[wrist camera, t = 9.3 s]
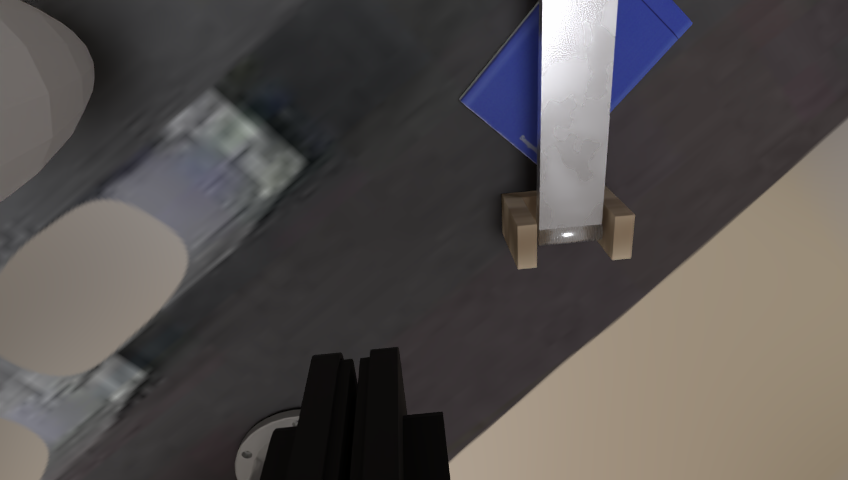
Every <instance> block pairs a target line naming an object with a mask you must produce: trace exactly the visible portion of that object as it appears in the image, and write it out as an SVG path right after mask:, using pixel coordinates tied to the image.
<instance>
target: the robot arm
mask: <svg viewBox="0 0 848 480" xmlns="http://www.w3.org/2000/svg"><path fill="white" fill-rule="evenodd" d="M235 475H236V478H237V480H450V473H449V464H448V455H447V446H446V437H445V428H444V419H443V412H434V413H424V414H414V415H407V409H406V401H405V393H404V386H403V378H402V370H401V362H400V354H399V348H398V347H393V348H382V349H372V350H371V351H370V357H367V358H361V359H360V366H359V378H358V384H357V378H356V372H355V367H354V362H353V359H347V360H344V359H343V355H342V353H332V354H321V355H314V356H312V359H311V364H310V368H309V373H308V378H307V382H306V387H305V392H304V396H303V401H302V406H301V409H299V410H291V411H286V412H281V413H278V414H276V415H273V416H270V417H268V418H266V419H264V420H263V421H261V422H259V423H258V424H256V425H255V426H254V427H253V428H252V429H251V430H250V431H249V432H248V433H247V434H246V436H245V437H244V439H243V440H242V441H241V444H240V447H239V449H238V452H237V456H236V460H235Z"/></svg>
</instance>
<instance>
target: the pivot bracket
mask: <svg viewBox="0 0 848 480" xmlns="http://www.w3.org/2000/svg"><path fill="white" fill-rule="evenodd" d="M501 197H502V233H503V236H504V238H505V240H506V243H507V245H508V247H509V250H510V252H511V254H512V257H513V259H514V261H515V264H516V266H517V268H518V269H526V268H537V223H536V204H537V191H527V192H517V193H506V194H501ZM634 220H635V214H634V213H633V212H632V211H631V210H630V209H629V208H627V207H626V206H625V205H624V204H623V203H622V202H621V201H620V200H619V199H618V198H617V197H616V196H615V195H614V194H613V193H612V192H611V191H610V190H609V189H608V188H607V187H606V186H605V188H604V202H603V215H602V227H603V237H602V239H601V240H598V243H599V244H600V245H601V246H602V248H603V249H604V250H605V252H606V253H607V254H608V255H609V257H610V258H611V259H612V260H619V259H629V258H631V252H632V242H633V231H634Z"/></svg>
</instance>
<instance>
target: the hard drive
mask: <svg viewBox="0 0 848 480" xmlns="http://www.w3.org/2000/svg"><path fill="white" fill-rule="evenodd" d="M691 25H692V22H691V20H690V19H689V18H688V17H687V16H686V15H685V14H684V12H683V11H682V10H681V9H680V8H679V7H678V6H677V5H676V4H675V3H674V2H673V1H672V0H618V7H617V21H616V35H615V49H614V63H613V77H612V91H611V104H610V112H611V111H612V110H613V109H614V108H615V107H616V106H617V105H618V104H619V103H620V102H621V101H622V100H623V98H624V97H625V96H626V95H627V94H628V93H629V92H630V91H631V90H632V89H633V88H634V87H635V85H636V84H637V83H638V82H639V81H640V80H641V79H642V78H643V77H644V76H645V75H646V74H647V73H648V72H649V71H650V69H651V68H652V67H653V66H654V65H655V64H656V63H657V62H658V61H659V60H660V58H661V57H662V56H663V55H664V54H665V53H666V52H667V51H668V50H669V49H670V48H671V46H672V45H673V44H674V43H675V42H676V41H677V40H678V39H679V38H680V37H681V36H682V35H683V34H684V33H685V32H686V31H687V29H688V28H689V27H690V26H691ZM538 38H539V1H538V2H537V3H536V5H535V6H534V7H533V8H532V10H531V11H530V12H529V13H528V14H527V16H526V17H525V18H524V19H523V21H522V22H521V23H520V24H519V25H518V27H517V28H516V29H515V30H514V32H513V33H512V34H511V35H510V37H509V38H508V39H507V40H506V42H505V43H504V44H503V45H502V46H501V48H500V49H499V50H498V51H497V53H496V54H495V55H494V56H493V58H492V59H491V60H490V61H489V62H488V64H487V65H486V66H485V67H484V69H483V70H482V71H481V72H480V74H479V75H478V76H477V77H476V78H475V80H474V81H473V82H472V83H471V85H470V86H469V87H468V88H467V90H466V91H465V92H464V93H463V94H462V96H461V97H460V98H459V100H460V101H461V102H462V103H463V104H464V105H465V106H466V107H467V108H469V109H470V110H471V111H472V112H473V113H475V114H476V115H477V116H478V117H480V118H481V119H482V120H483V121H484V122H486V123H487V124H488V125H489V126H490V127H492V128H493V129H494V130H495V131H496V132H498V133H499V134H500V135H501V136H502V137H504V138H505V139H506V140H507V141H509V142H510V143H511V144H512V145H513V146H515V147H516V148H517V149H518V150H519V151H521V152H522V153H523V154H524V155H526V156H527V157H528V158H529V159H530V160H532V161H533V162H534V163H535V164H536V165H537V121H538Z"/></svg>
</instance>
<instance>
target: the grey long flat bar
mask: <svg viewBox="0 0 848 480" xmlns="http://www.w3.org/2000/svg"><path fill="white" fill-rule="evenodd" d="M617 7H618V0H539V38H538V121H537V204H536V223H537V245H538V246H546V245H557V244H567V243H577V242H587V241H598V240H601V239H602V237H603V227H602V215H603V202H604V188H605V174H606V160H607V146H608V132H609V118H610V104H611V91H612V77H613V63H614V49H615V35H616V21H617Z"/></svg>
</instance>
